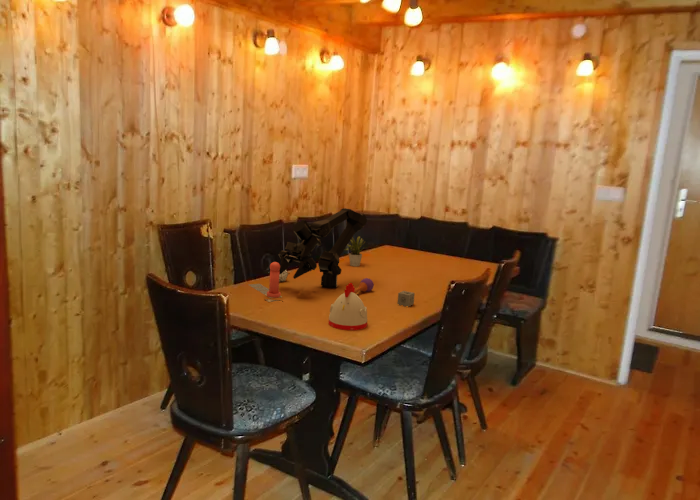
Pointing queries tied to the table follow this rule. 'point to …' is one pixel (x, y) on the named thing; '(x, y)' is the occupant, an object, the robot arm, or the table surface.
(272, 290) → the pawn
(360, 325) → the kitchen timer
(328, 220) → the robot arm
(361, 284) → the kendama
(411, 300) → the grey symbol cube
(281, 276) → the game die
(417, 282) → the table surface
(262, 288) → the board
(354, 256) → the house plant
